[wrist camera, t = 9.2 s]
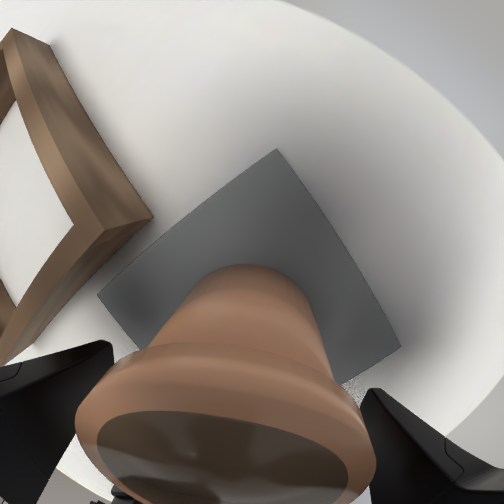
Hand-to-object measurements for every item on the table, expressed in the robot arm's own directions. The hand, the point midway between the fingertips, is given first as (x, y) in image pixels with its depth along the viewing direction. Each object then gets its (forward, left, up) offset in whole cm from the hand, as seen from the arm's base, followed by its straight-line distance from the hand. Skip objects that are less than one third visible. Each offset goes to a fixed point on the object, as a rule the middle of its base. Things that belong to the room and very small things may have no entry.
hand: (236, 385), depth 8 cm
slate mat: (0, 0, -5) cm, 5 cm away
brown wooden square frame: (+14, +8, -5) cm, 17 cm away
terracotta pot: (0, 0, -4) cm, 4 cm away
